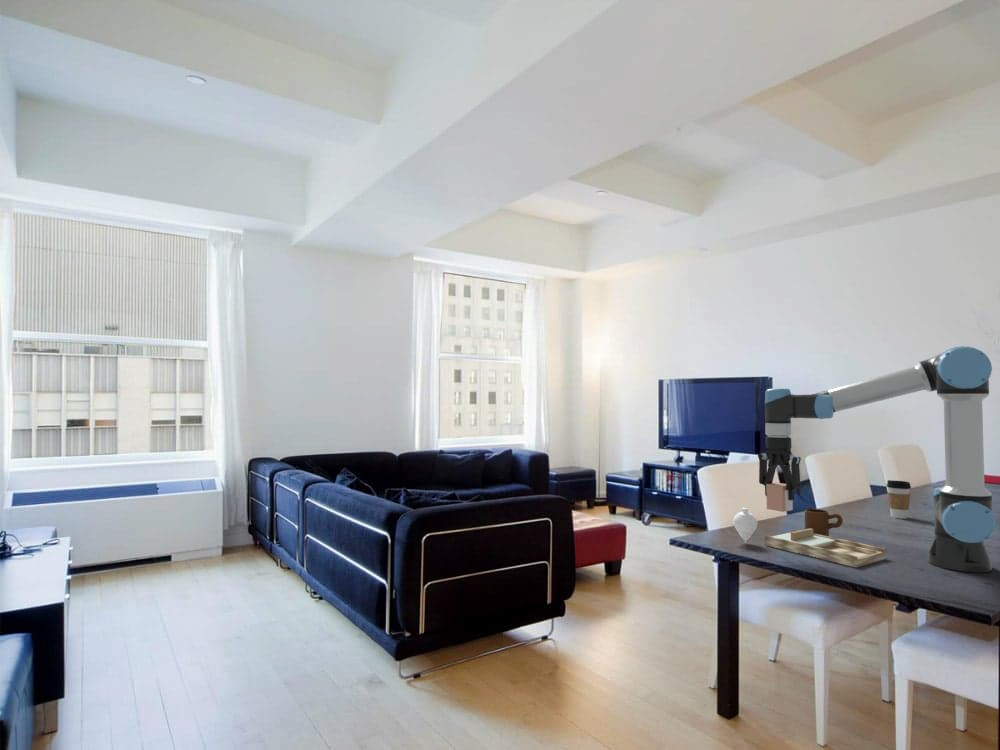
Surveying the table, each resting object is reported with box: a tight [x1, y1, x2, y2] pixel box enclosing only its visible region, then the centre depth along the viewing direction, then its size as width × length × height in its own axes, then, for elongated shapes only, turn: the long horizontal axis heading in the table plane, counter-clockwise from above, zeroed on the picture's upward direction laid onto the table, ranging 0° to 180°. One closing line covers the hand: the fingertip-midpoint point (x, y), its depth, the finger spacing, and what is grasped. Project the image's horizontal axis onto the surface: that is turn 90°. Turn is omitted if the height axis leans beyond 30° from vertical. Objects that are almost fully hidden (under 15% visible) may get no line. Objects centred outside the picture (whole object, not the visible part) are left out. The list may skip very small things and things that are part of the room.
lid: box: [771, 528, 836, 547], centre depth 198 cm, size 14×15×3 cm
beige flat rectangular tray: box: [764, 529, 887, 568], centre depth 192 cm, size 30×17×3 cm, turn 31°
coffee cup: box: [886, 479, 912, 520], centre depth 244 cm, size 8×8×15 cm
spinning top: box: [732, 507, 758, 544], centre depth 203 cm, size 8×8×12 cm
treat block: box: [766, 482, 794, 513], centre depth 190 cm, size 6×6×8 cm
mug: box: [804, 508, 844, 537], centre depth 210 cm, size 12×8×9 cm, turn 51°
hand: (779, 508), depth 190 cm, fingers closed on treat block, 5 cm apart
